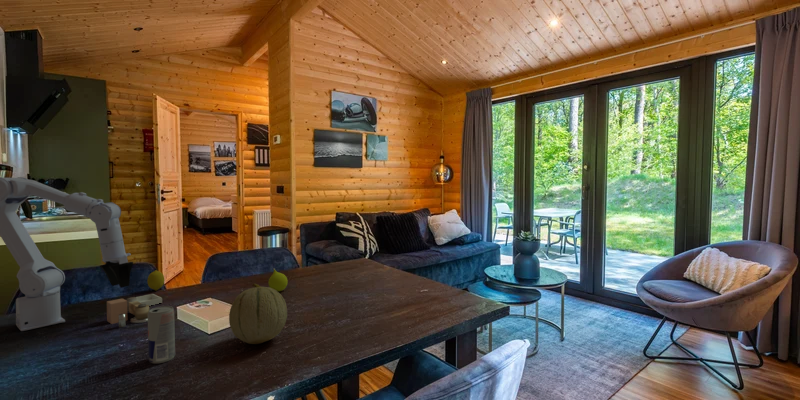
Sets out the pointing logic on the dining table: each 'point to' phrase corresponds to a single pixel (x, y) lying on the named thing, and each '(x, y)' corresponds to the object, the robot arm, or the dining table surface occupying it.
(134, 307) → the crank arm
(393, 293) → the dining table surface
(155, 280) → the lemon
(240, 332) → the cantaloupe
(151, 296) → the tray
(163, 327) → the energy drink
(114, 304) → the block
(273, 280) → the green fig
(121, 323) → the crank base
